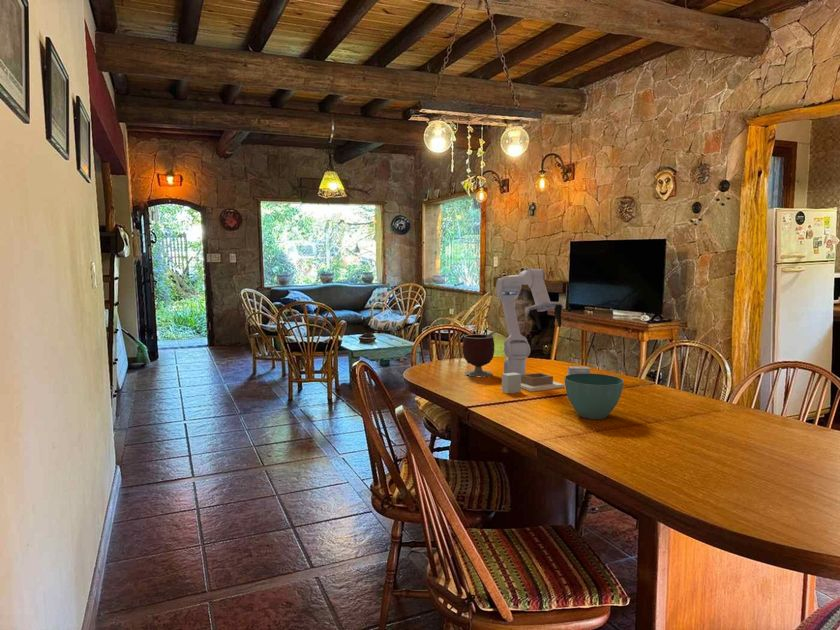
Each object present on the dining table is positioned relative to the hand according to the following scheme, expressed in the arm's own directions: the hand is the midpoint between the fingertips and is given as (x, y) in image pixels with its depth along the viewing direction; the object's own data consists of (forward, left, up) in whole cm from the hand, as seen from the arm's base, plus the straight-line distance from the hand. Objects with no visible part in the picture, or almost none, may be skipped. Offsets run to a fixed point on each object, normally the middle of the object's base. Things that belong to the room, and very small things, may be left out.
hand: (550, 326), depth 213 cm
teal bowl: (+31, -7, -26) cm, 41 cm away
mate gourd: (-43, -4, -26) cm, 50 cm away
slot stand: (-13, +4, -26) cm, 29 cm away
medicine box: (-1, +15, -26) cm, 30 cm away
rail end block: (-9, -11, -26) cm, 29 cm away
